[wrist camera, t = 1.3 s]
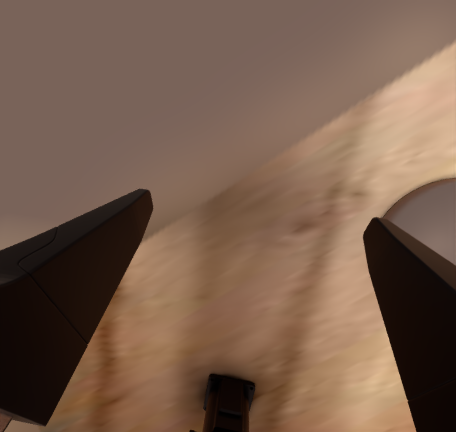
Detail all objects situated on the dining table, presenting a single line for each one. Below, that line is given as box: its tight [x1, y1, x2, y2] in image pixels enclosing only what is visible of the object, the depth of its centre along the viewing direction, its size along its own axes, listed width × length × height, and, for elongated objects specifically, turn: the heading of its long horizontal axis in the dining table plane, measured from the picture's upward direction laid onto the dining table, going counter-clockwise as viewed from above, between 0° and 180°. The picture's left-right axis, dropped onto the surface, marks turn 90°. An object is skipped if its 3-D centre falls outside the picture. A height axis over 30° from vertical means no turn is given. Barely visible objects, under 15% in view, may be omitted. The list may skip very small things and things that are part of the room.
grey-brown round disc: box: [383, 178, 456, 265], centre depth 24 cm, size 15×15×2 cm
